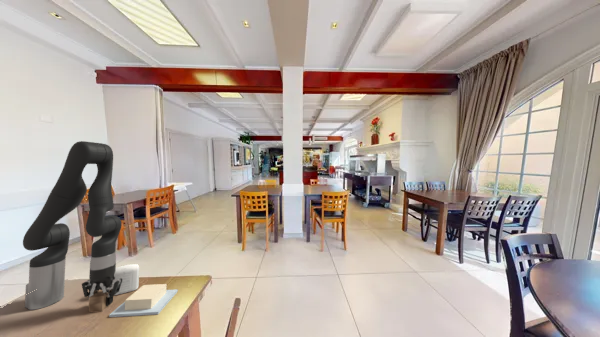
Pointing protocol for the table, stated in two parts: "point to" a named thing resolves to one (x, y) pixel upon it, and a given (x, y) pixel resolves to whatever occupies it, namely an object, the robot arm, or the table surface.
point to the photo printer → (128, 277)
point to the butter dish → (145, 301)
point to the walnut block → (98, 302)
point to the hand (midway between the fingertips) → (101, 304)
